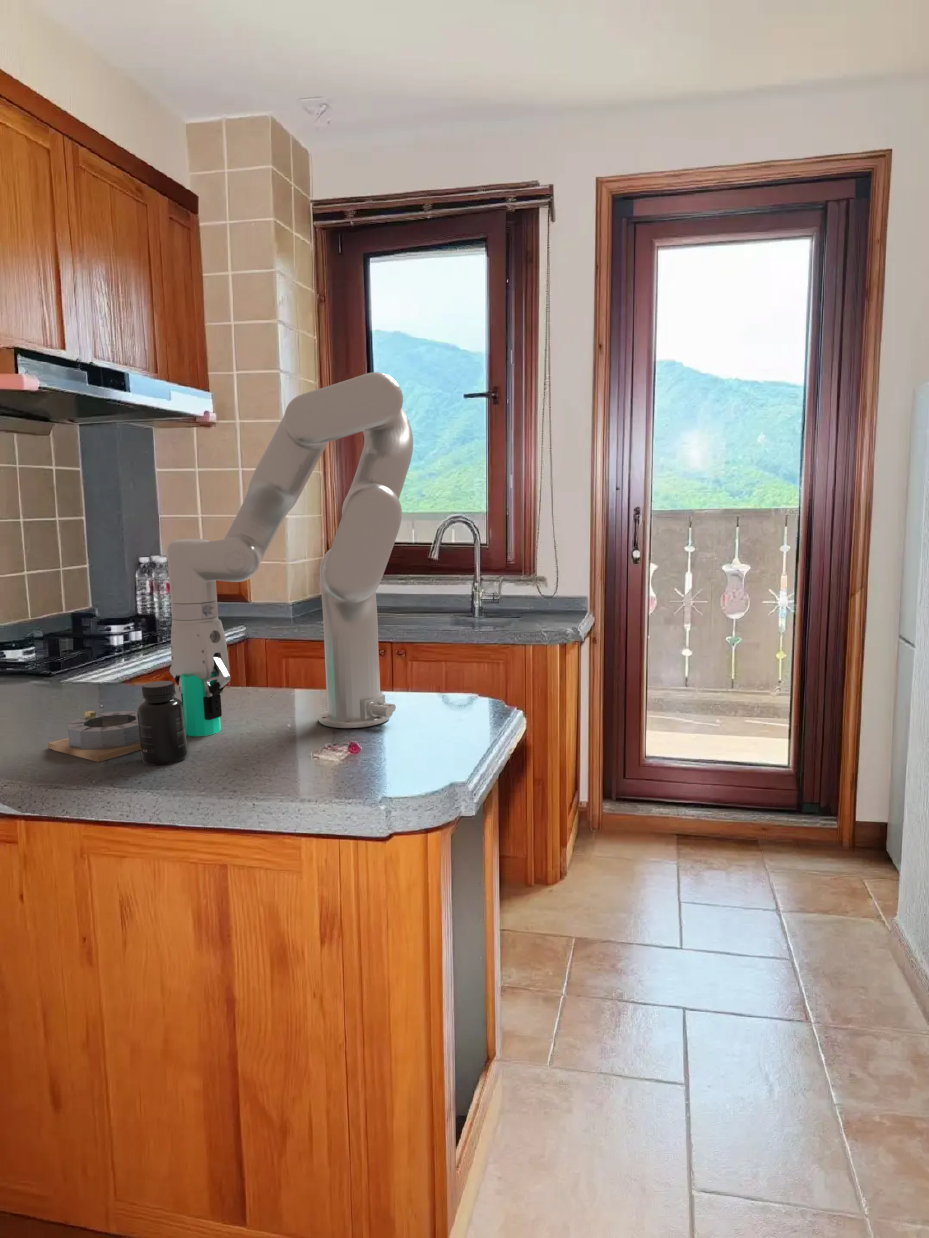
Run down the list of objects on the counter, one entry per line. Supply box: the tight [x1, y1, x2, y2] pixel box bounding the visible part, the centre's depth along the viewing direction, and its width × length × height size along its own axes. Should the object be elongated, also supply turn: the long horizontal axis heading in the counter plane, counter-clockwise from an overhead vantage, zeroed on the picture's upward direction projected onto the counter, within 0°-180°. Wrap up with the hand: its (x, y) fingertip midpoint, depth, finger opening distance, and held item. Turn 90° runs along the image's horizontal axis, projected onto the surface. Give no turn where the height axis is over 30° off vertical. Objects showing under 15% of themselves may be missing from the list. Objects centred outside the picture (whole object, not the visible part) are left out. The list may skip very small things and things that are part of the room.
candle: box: [181, 673, 222, 737], centre depth 151 cm, size 6×6×12 cm
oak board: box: [47, 737, 141, 763], centre depth 145 cm, size 14×14×1 cm
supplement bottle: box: [136, 680, 188, 766], centre depth 136 cm, size 7×7×12 cm
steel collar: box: [67, 710, 140, 750], centre depth 145 cm, size 13×13×4 cm
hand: (202, 715), depth 152 cm, fingers open, 5 cm apart
